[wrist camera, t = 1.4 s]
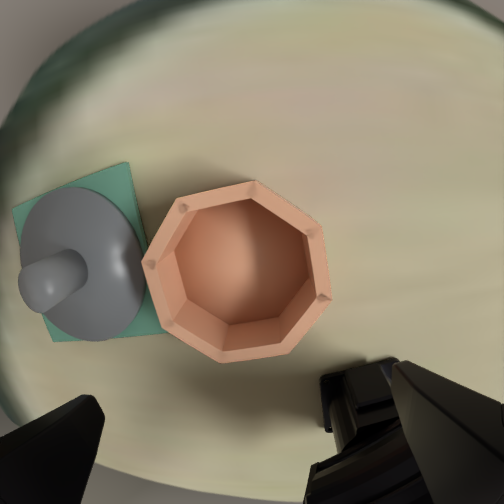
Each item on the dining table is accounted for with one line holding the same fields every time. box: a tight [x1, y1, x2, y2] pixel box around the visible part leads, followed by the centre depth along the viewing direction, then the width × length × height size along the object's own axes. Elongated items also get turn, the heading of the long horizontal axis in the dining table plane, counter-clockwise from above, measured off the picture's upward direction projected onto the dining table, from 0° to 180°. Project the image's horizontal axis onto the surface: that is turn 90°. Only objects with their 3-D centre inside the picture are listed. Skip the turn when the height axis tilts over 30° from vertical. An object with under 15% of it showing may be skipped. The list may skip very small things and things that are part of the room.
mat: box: [12, 162, 169, 342], centre depth 20 cm, size 12×12×1 cm
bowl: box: [141, 180, 332, 364], centre depth 18 cm, size 10×10×4 cm
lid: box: [18, 187, 146, 341], centre depth 17 cm, size 12×12×5 cm
